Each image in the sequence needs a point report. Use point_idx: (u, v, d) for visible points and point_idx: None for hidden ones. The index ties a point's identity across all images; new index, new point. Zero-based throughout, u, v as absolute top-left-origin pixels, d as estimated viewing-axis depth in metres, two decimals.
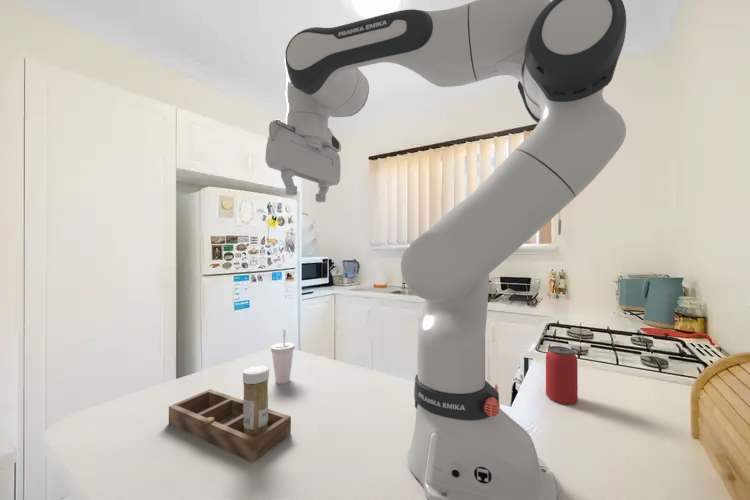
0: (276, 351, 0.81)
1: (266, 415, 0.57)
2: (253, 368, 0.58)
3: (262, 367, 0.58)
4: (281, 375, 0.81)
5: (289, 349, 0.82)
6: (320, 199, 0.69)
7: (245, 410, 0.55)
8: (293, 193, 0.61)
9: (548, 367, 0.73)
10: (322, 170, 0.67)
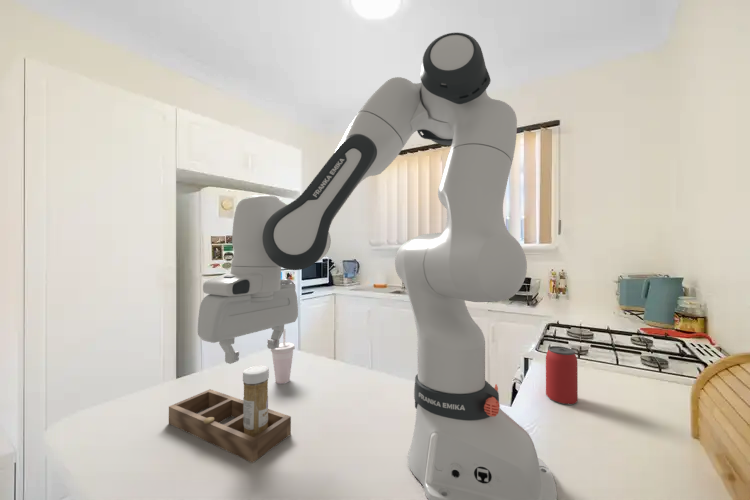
0: (276, 351, 0.81)
1: (266, 415, 0.57)
2: (253, 368, 0.58)
3: (262, 367, 0.58)
4: (281, 375, 0.81)
5: (289, 349, 0.82)
6: None
7: (245, 410, 0.55)
8: None
9: (548, 367, 0.73)
10: None
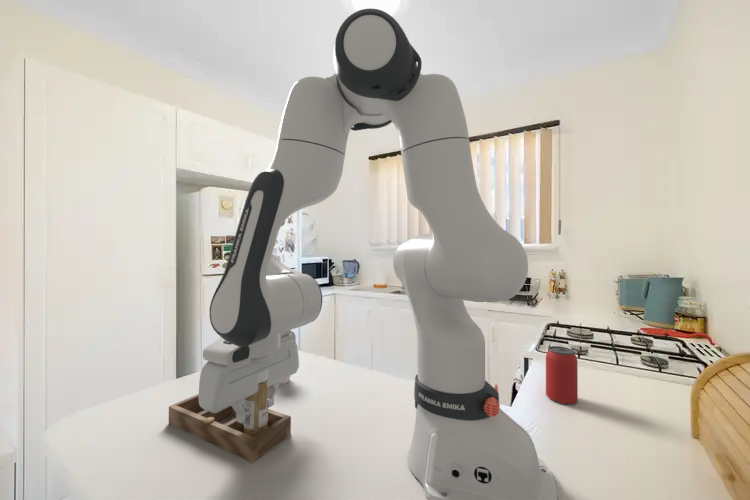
0: None
1: (266, 415, 0.57)
2: None
3: None
4: None
5: None
6: None
7: None
8: None
9: (548, 367, 0.73)
10: None
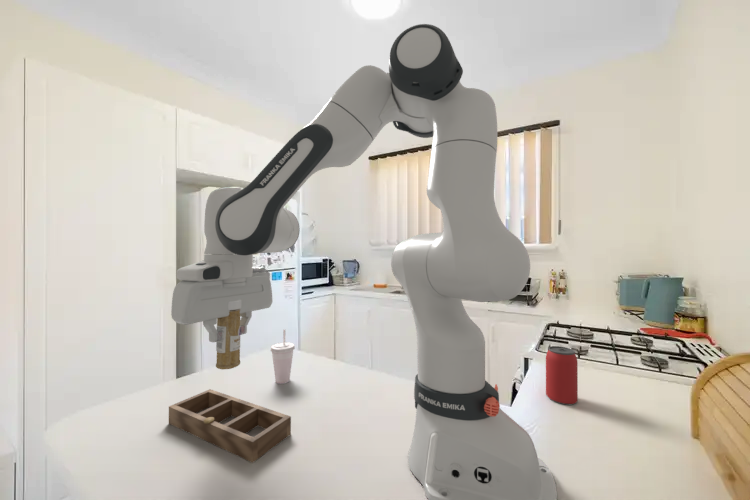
0: (276, 351, 0.81)
1: (238, 342, 0.61)
2: None
3: None
4: (281, 375, 0.81)
5: (289, 349, 0.82)
6: None
7: None
8: None
9: (548, 367, 0.73)
10: None
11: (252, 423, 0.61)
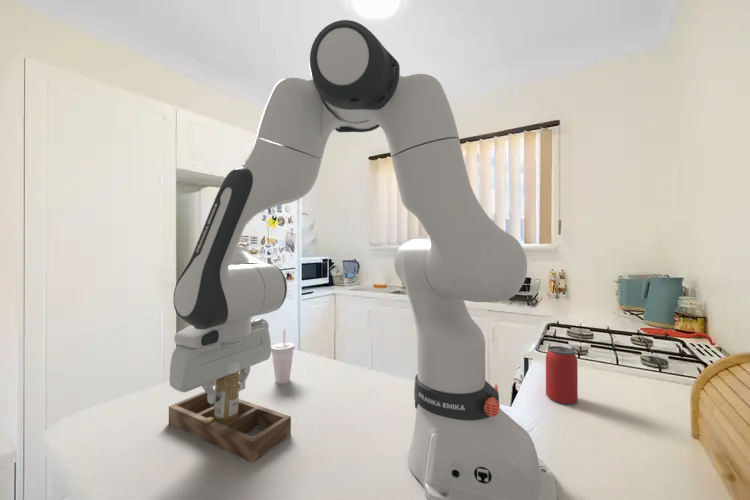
0: (276, 351, 0.81)
1: (236, 405, 0.60)
2: None
3: None
4: (281, 375, 0.81)
5: (289, 349, 0.82)
6: None
7: None
8: None
9: (548, 367, 0.73)
10: None
11: (252, 423, 0.61)
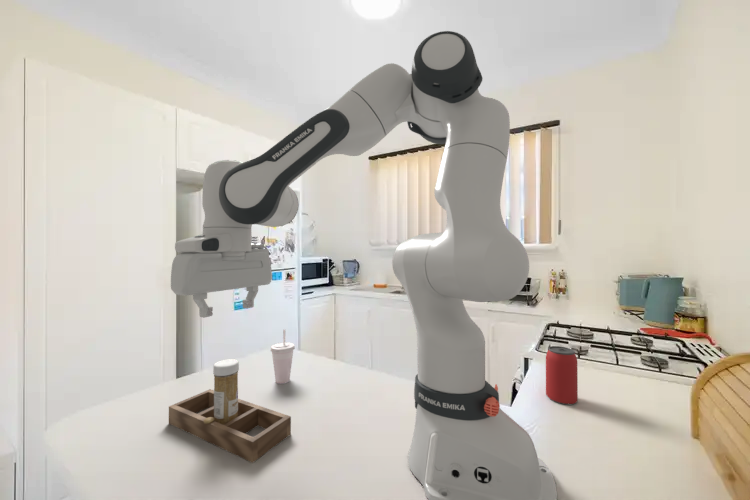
0: (276, 351, 0.81)
1: (236, 405, 0.60)
2: (223, 361, 0.61)
3: (232, 360, 0.62)
4: (281, 375, 0.81)
5: (289, 349, 0.82)
6: None
7: (215, 401, 0.59)
8: None
9: (548, 367, 0.73)
10: None
11: (252, 423, 0.61)
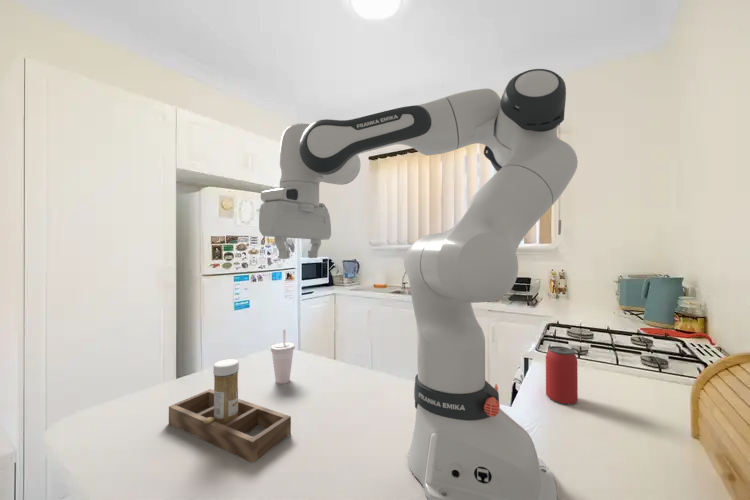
0: (276, 351, 0.81)
1: (236, 405, 0.60)
2: (223, 361, 0.61)
3: (232, 360, 0.62)
4: (281, 375, 0.81)
5: (289, 349, 0.82)
6: None
7: (215, 401, 0.59)
8: None
9: (548, 367, 0.73)
10: None
11: (252, 423, 0.61)
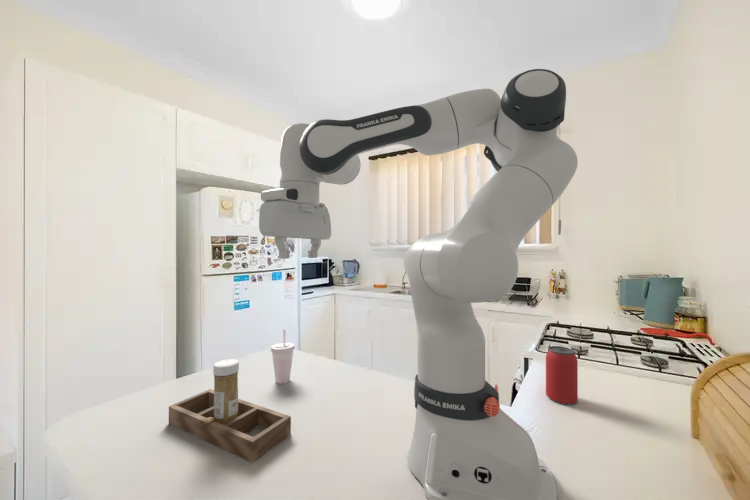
0: (276, 351, 0.81)
1: (236, 405, 0.60)
2: (223, 361, 0.61)
3: (232, 360, 0.62)
4: (281, 375, 0.81)
5: (289, 349, 0.82)
6: None
7: (215, 401, 0.59)
8: None
9: (548, 367, 0.73)
10: None
11: (252, 423, 0.61)
